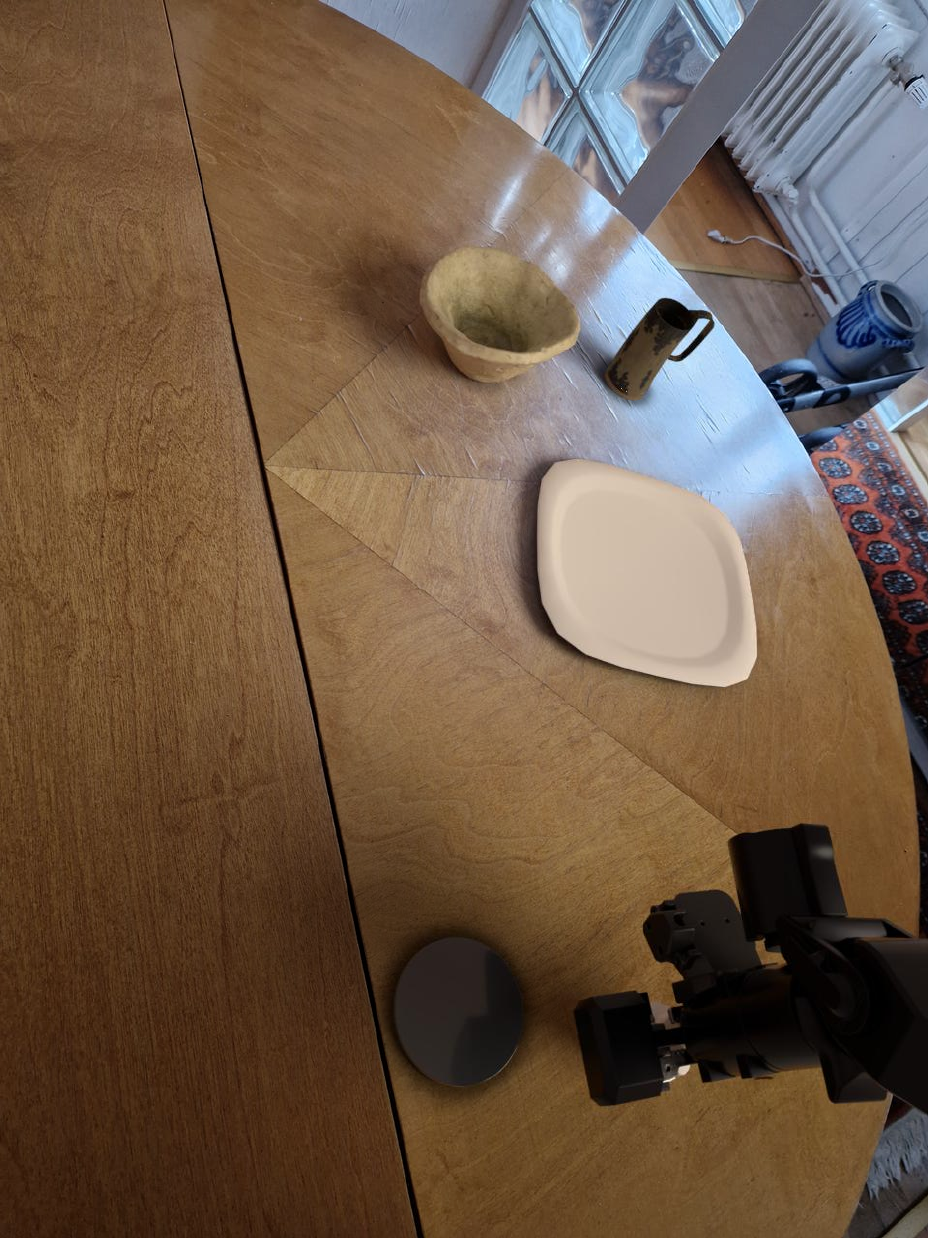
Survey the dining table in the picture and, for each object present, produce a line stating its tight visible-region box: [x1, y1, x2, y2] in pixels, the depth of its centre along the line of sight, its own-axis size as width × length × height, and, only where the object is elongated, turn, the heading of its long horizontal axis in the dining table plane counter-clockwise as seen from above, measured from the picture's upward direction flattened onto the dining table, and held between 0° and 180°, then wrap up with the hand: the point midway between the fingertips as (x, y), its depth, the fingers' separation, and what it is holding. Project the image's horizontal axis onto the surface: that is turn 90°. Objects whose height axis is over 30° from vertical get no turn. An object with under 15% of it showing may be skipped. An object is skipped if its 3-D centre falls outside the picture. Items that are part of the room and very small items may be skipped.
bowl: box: [418, 246, 581, 384], centre depth 95 cm, size 14×18×15 cm
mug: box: [604, 297, 716, 401], centre depth 103 cm, size 8×6×12 cm
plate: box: [536, 458, 758, 689], centre depth 92 cm, size 25×25×2 cm
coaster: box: [392, 936, 525, 1088], centre depth 65 cm, size 10×10×1 cm
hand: (644, 1042), depth 66 cm, fingers closed on salt shaker, 5 cm apart
